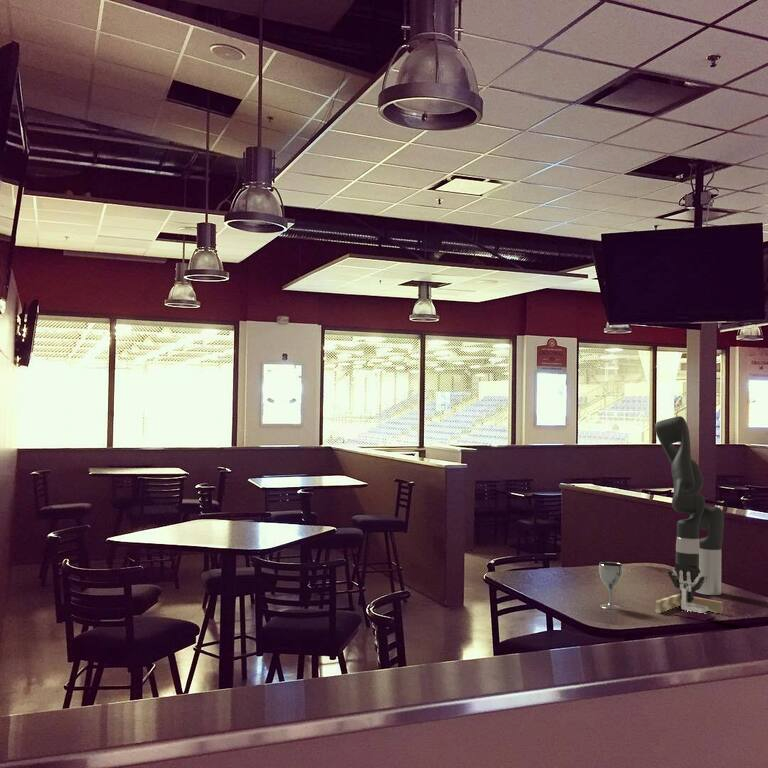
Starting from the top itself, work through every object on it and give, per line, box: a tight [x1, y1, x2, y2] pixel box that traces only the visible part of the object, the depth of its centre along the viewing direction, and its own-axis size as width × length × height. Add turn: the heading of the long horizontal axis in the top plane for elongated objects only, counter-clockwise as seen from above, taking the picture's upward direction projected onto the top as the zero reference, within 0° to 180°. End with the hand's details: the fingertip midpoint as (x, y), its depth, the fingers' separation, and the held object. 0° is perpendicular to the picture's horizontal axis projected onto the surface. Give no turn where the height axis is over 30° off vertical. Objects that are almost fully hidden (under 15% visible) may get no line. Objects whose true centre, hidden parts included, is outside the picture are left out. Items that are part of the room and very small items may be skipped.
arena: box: [654, 593, 724, 615], centre depth 268 cm, size 18×16×4 cm
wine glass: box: [598, 561, 624, 610], centre depth 274 cm, size 8×8×15 cm
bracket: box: [680, 586, 708, 614], centre depth 265 cm, size 7×5×7 cm
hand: (686, 601), depth 267 cm, fingers closed on bracket, 1 cm apart
